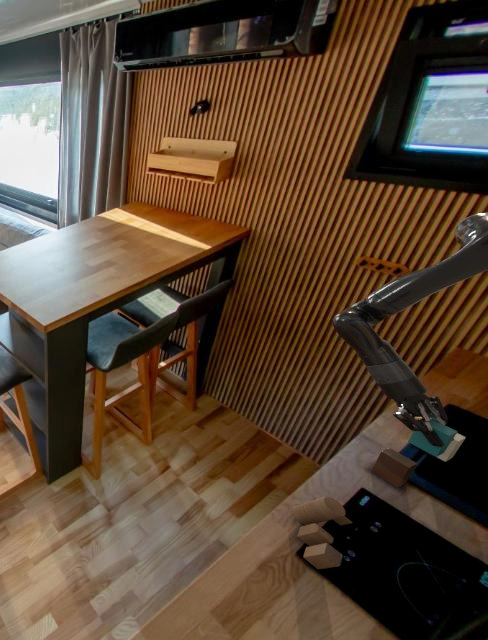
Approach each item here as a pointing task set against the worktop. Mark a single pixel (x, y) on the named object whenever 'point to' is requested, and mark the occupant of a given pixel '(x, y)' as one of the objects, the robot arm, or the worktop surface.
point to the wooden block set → (320, 530)
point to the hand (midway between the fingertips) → (443, 442)
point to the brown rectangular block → (393, 467)
